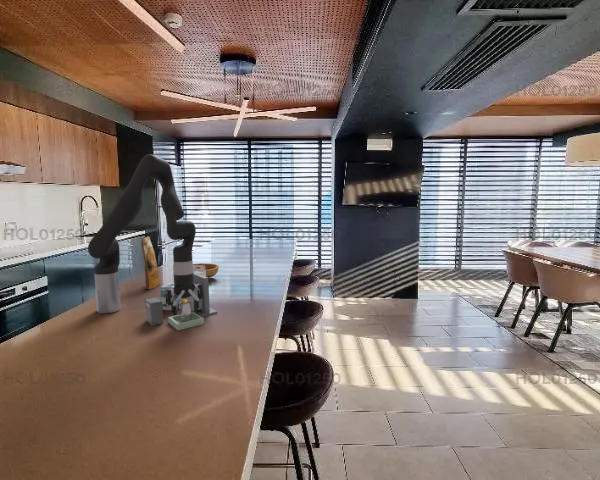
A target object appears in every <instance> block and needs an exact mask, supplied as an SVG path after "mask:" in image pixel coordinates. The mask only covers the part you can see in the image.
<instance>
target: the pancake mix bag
mask: <svg viewBox="0 0 600 480" xmlns="http://www.w3.org/2000/svg"><path fill="white" fill-rule="evenodd" d="M141 249H142V254H143V261H144V272H145V276H144V277H145V289H146V290H152V289H155V288H156V287H158V286H159V285H160V284H161V277H160V274H159V269H158V263H157V259H156V254H155V250H154V247H153V243H152V241H151V238H150V235H148V236H146V237H143V238H142V240H141Z"/></svg>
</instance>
